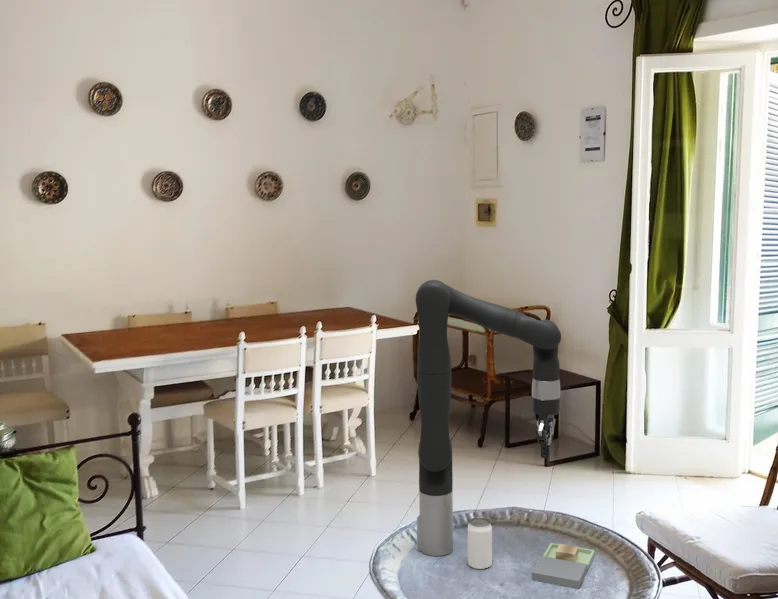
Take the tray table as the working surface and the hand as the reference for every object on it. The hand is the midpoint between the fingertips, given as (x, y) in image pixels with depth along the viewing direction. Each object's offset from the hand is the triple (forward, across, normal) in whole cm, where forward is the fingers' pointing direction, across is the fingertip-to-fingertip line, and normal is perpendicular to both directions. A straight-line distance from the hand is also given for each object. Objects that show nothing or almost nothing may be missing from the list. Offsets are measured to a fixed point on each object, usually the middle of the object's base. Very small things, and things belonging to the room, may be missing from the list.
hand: (545, 457), depth 221 cm
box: (+27, +2, +7) cm, 28 cm away
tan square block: (+26, +3, +7) cm, 28 cm away
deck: (+27, +12, +7) cm, 30 cm away
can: (+27, +14, -14) cm, 34 cm away
